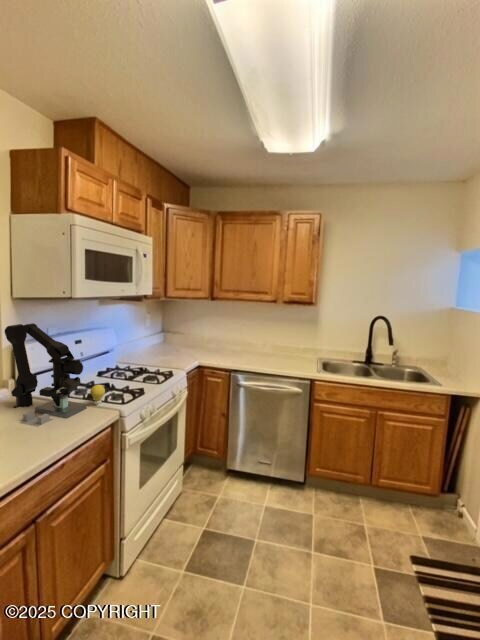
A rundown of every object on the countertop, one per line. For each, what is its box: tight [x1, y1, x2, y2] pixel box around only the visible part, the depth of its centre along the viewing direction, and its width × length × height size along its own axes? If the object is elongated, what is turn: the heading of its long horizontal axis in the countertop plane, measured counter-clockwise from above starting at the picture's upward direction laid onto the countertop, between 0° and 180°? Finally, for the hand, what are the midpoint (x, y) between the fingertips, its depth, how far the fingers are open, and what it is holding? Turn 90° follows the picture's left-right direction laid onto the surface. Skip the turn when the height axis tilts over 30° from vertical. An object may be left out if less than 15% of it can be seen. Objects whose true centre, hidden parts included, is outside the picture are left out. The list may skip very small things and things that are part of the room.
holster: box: [19, 410, 54, 428], centre depth 152 cm, size 10×8×4 cm
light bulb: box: [90, 384, 106, 406], centre depth 175 cm, size 7×7×10 cm
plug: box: [54, 394, 69, 409], centre depth 164 cm, size 5×3×7 cm, turn 73°
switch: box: [34, 399, 88, 419], centre depth 165 cm, size 18×12×3 cm, turn 73°
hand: (61, 404), depth 164 cm, fingers open, 3 cm apart
